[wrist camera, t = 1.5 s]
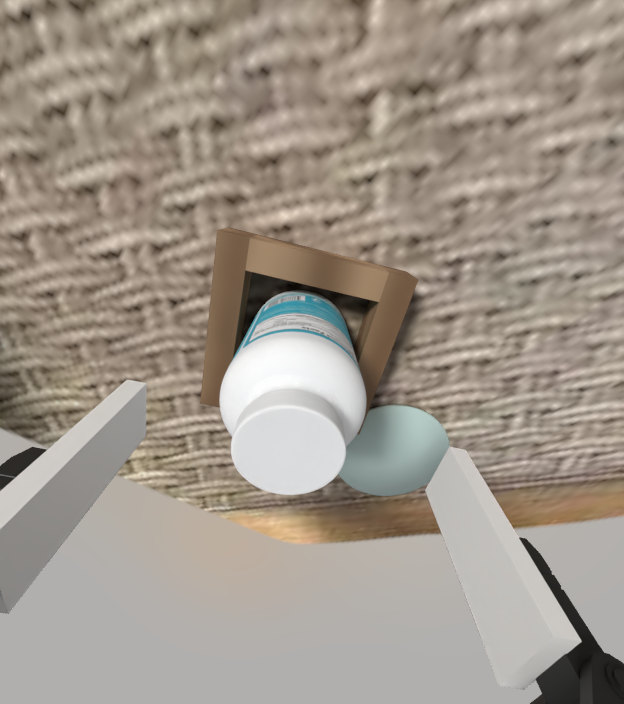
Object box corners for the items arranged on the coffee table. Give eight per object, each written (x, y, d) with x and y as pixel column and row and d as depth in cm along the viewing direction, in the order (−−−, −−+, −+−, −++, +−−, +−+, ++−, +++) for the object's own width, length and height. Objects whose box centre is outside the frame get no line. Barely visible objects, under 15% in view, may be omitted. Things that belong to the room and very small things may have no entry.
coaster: (320, 482, 31) (320, 485, 31) (350, 393, 27) (351, 396, 27) (421, 500, 32) (422, 503, 32) (467, 417, 28) (469, 420, 28)
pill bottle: (303, 389, 27) (294, 541, 15) (235, 335, 25) (157, 460, 12) (366, 330, 24) (419, 452, 12) (297, 265, 22) (276, 334, 10)
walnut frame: (211, 384, 27) (200, 403, 24) (229, 227, 21) (217, 230, 19) (355, 414, 28) (359, 434, 25) (406, 271, 22) (418, 279, 20)
